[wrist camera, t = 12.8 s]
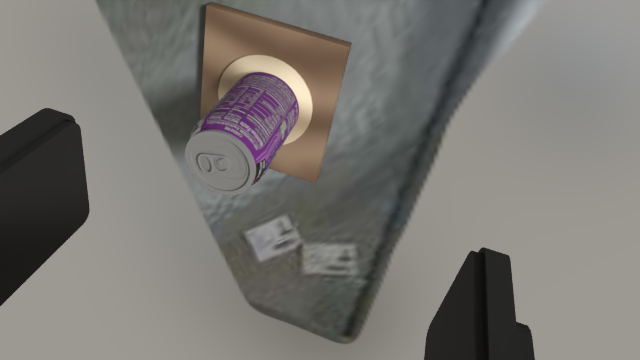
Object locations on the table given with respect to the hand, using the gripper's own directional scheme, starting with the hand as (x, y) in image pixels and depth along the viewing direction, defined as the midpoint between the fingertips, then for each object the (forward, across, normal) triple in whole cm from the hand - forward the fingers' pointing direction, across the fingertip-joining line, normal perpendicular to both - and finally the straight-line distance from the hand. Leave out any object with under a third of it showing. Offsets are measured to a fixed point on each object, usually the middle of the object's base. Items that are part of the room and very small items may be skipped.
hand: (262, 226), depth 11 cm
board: (+36, +10, +17) cm, 41 cm away
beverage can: (+35, +10, +17) cm, 40 cm away
